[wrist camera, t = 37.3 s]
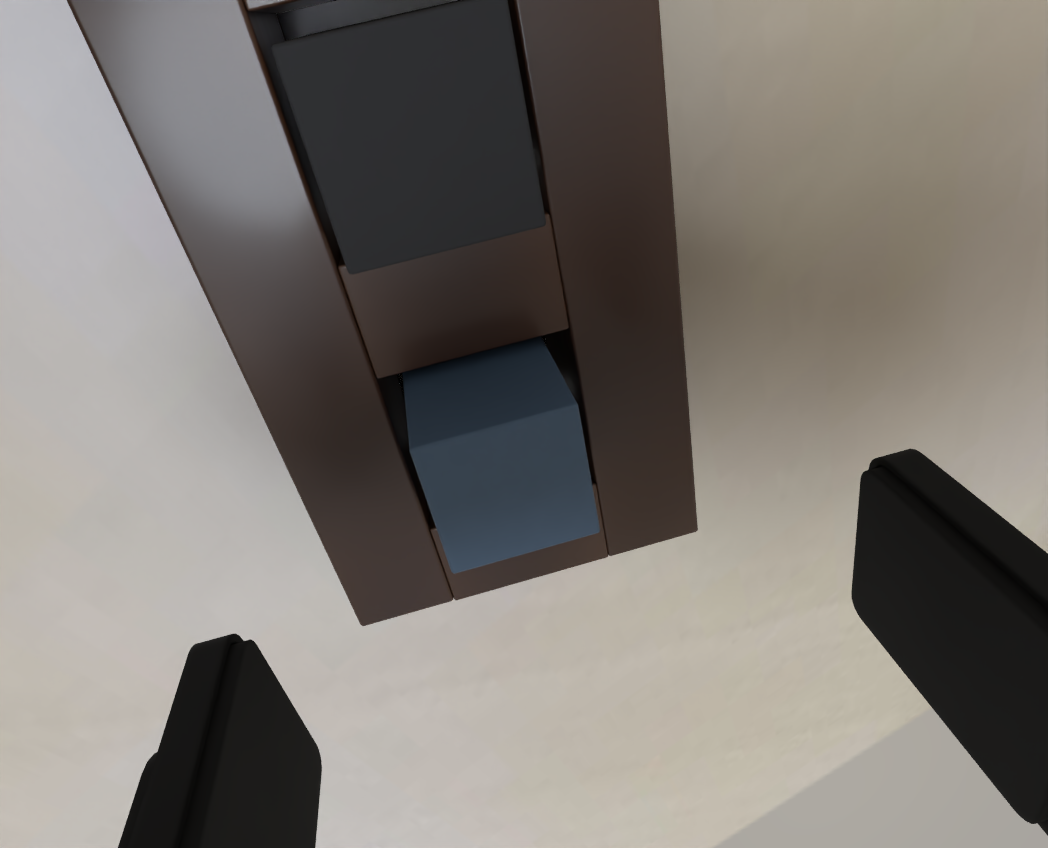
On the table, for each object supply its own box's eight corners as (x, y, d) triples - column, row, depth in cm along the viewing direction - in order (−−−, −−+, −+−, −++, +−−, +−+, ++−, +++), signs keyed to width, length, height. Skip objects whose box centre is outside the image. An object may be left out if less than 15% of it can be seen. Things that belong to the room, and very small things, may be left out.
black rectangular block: (454, 0, 15) (506, -9, 9) (487, 156, 16) (547, 226, 11) (307, 34, 14) (269, 45, 9) (355, 188, 16) (348, 276, 11)
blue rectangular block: (515, 287, 18) (578, 403, 13) (536, 390, 20) (601, 533, 14) (396, 317, 18) (408, 450, 12) (429, 419, 20) (452, 575, 14)
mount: (570, -212, 13) (639, -292, 10) (647, 451, 22) (698, 531, 18) (91, -111, 13) (-11, -159, 9) (362, 530, 21) (361, 628, 18)
